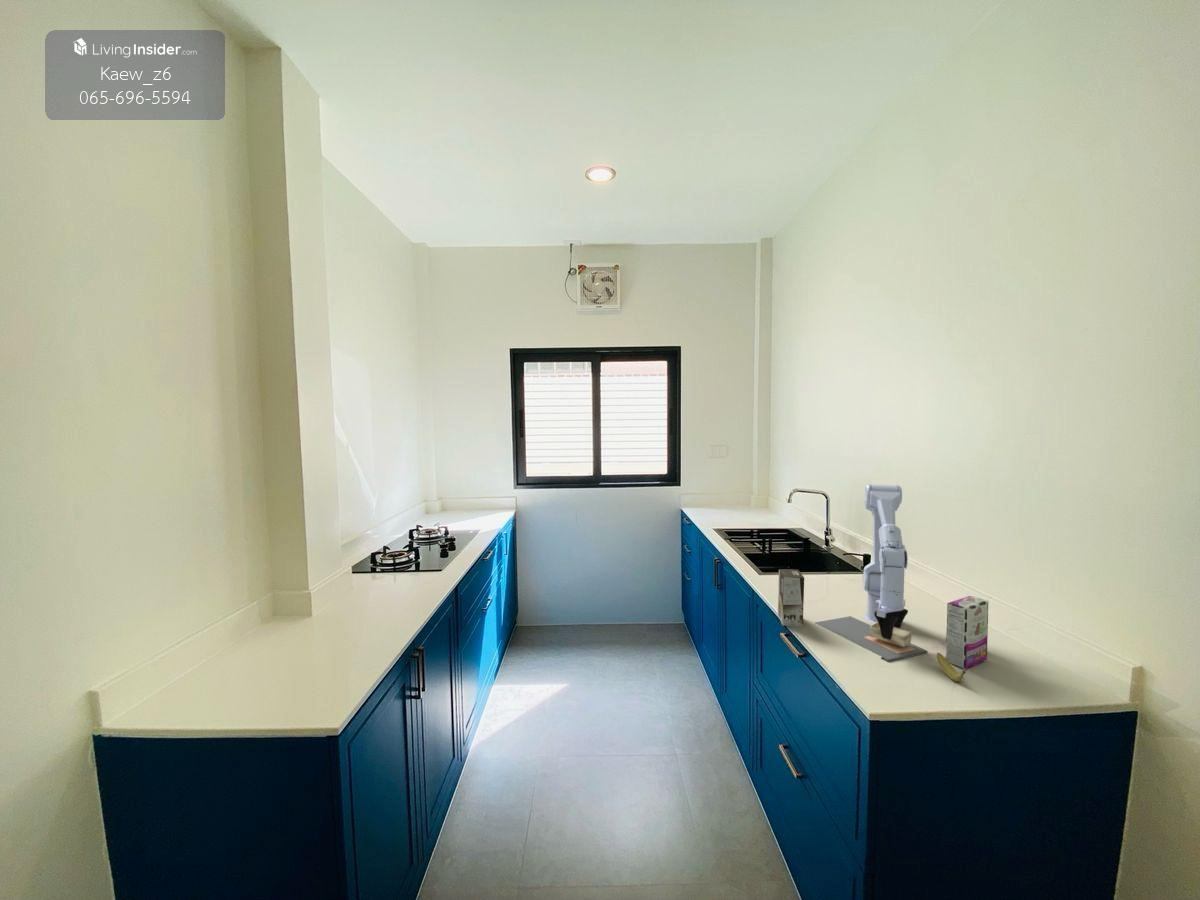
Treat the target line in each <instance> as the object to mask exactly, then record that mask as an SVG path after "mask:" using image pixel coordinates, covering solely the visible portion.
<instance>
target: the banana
mask: <svg viewBox="0 0 1200 900" xmlns="http://www.w3.org/2000/svg"><path fill="white" fill-rule="evenodd" d="M935 656H936V661H937V663H938V665H939V666H940V668H941V669H942V670H943V672H944V673H945V674H946V675H947V677H948V678H950V679H951V680H952V681H954V682H956V683H960V682H961V683H962V681H963V679H964V675H965V674H966V673H967V672H966V670H965V669H963V670H961V671H962V673H959V672H958V671H957V670H956V669H955V668H954V667H953V665H952V664H950V663H949V662H948V661H947V659H946V656H944V655H942V654H941V653H939V652H937V653H936V655H935Z"/></svg>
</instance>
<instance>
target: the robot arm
mask: <svg viewBox="0 0 1200 900" xmlns="http://www.w3.org/2000/svg"><path fill="white" fill-rule="evenodd" d="M864 487H865V488H864V506H865V509H866V510H868V511H870V512H871V514H872V515H871V516H872V532H873V533H872V557H873V558H872V562H870V563H868V564H867V565H865V566H864V568H863V572H862V573H863V574H862V587H863V590H864V591H865V592H866V593H867V605H866V609H867V611H866V613H867V614H865V615H861V616H860V617H861V618H863V619H865V620H868V621H870V622H872V623H873V624H875V623H876V622H878V623H879V626H880V630H881V634H882V637H883V638H886V639H889V640H890V639H891V637H892V633H893V628H894V627H897V628H900V629H902V625H903V622H904V619H905V618H906V616H907V614H909V610H908V609H906V608H905V606H906V599H905V598H904V596H905V595H904V593H905V590H904V589H905V570H906V569H907V567H908V563H909V562H908V561H909V560H908V559H909V558H908V556H909V555H908V551H907V548H906V545H905V544H903V538H902V531H901V528H900V527H898V526H897V525H896V512H897V511H898V509H899V508H900V505H901V504H902V501H903V488H902V487H901V485H899V484H897V485H890V484H870V483H868V484H866V485H865V486H864Z"/></svg>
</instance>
